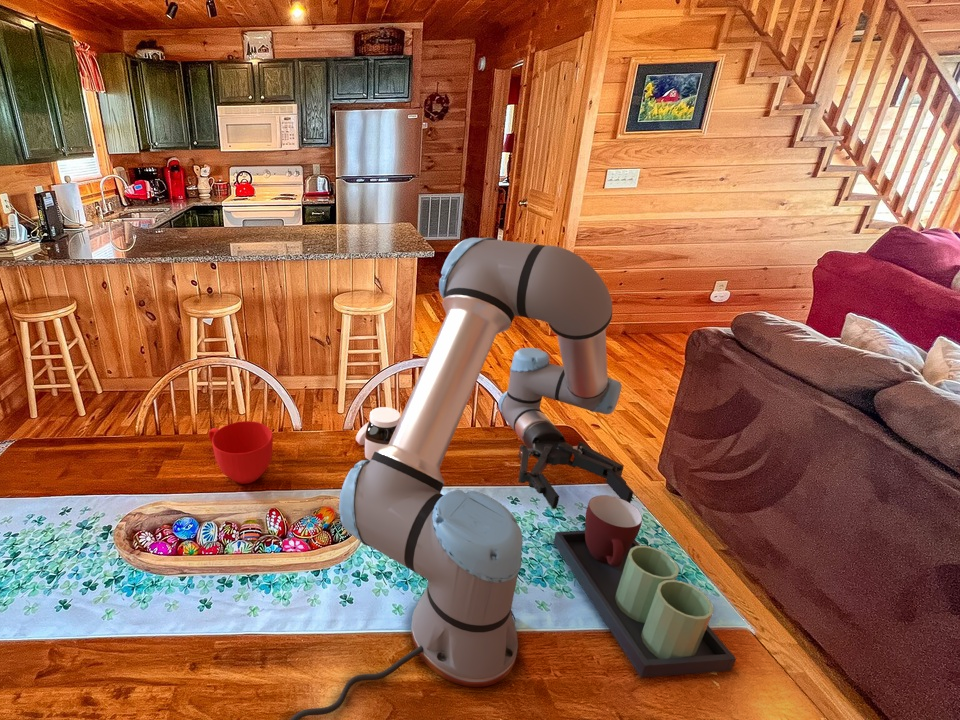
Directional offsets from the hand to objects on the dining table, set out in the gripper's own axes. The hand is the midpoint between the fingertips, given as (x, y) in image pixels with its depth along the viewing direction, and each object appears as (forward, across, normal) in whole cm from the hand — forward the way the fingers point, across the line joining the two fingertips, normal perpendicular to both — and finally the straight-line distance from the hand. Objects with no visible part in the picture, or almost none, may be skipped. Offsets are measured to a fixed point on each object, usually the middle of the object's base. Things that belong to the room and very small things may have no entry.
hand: (593, 500), depth 91 cm
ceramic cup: (-25, +66, -8) cm, 71 cm away
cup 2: (+22, 0, -8) cm, 24 cm away
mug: (+7, 0, -8) cm, 10 cm away
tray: (+14, 0, -8) cm, 16 cm away
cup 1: (+16, 0, -8) cm, 18 cm away
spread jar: (-29, +34, -8) cm, 46 cm away
